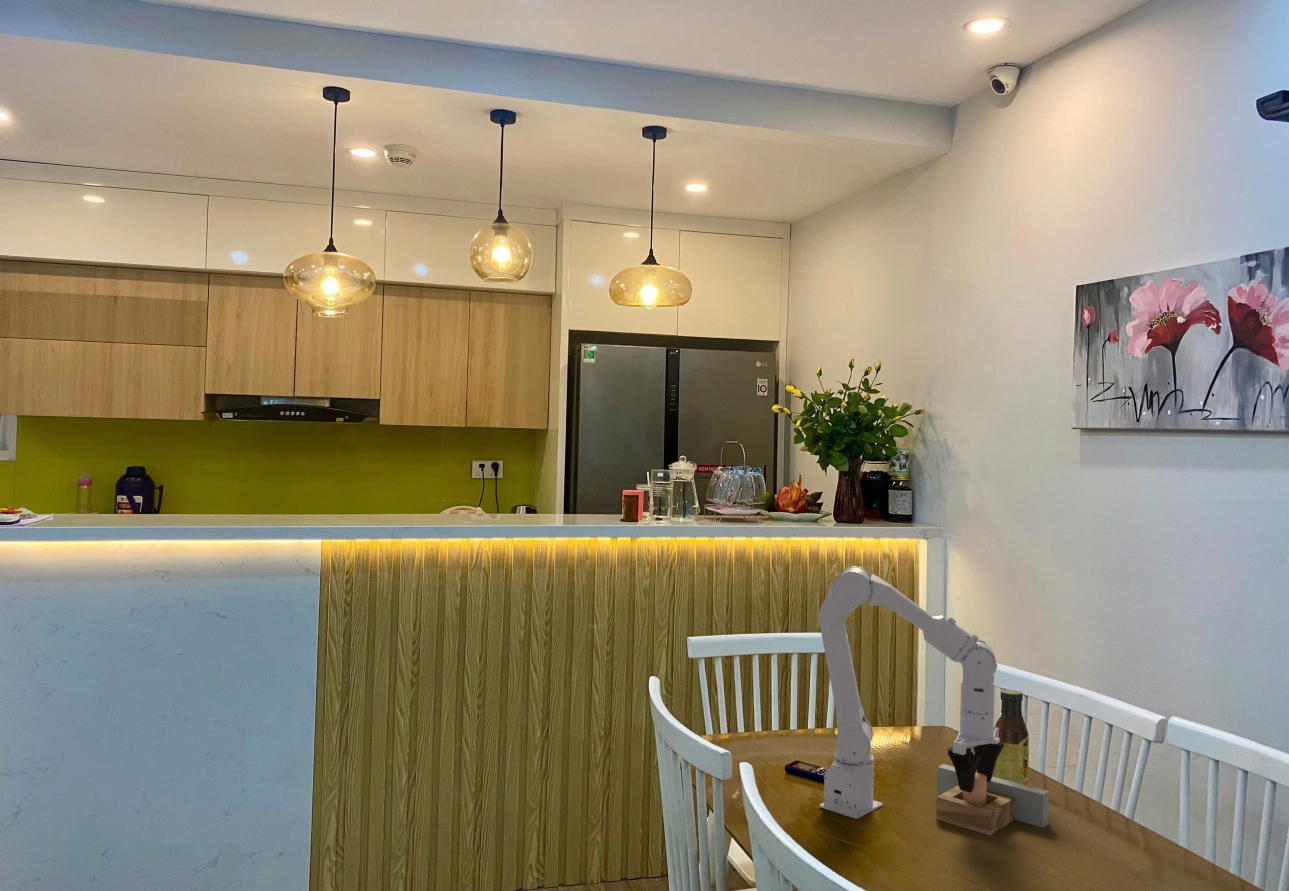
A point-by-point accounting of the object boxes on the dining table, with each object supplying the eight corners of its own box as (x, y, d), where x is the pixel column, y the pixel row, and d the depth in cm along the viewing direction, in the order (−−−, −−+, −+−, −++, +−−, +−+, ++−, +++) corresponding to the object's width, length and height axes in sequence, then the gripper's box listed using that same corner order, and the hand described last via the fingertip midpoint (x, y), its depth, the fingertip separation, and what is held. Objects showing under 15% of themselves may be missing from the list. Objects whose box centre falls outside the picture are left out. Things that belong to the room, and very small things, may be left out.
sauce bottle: (1031, 801, 180) (1032, 697, 181) (996, 798, 182) (998, 695, 182) (1024, 789, 187) (1026, 689, 187) (991, 787, 188) (992, 686, 188)
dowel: (978, 820, 168) (979, 781, 168) (958, 813, 171) (958, 775, 171) (990, 815, 170) (991, 776, 170) (969, 808, 173) (970, 770, 174)
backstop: (1042, 828, 167) (1043, 794, 168) (936, 798, 181) (937, 766, 181) (1048, 824, 169) (1048, 790, 169) (943, 794, 183) (943, 763, 183)
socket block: (990, 835, 163) (990, 812, 163) (936, 818, 170) (936, 796, 170) (1014, 819, 171) (1014, 797, 171) (961, 804, 178) (961, 783, 178)
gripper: (981, 722, 163) (979, 801, 163) (1015, 707, 173) (1013, 781, 173) (942, 713, 167) (940, 790, 167) (978, 699, 178) (976, 771, 178)
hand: (975, 785), depth 171 cm, fingers open, 7 cm apart
